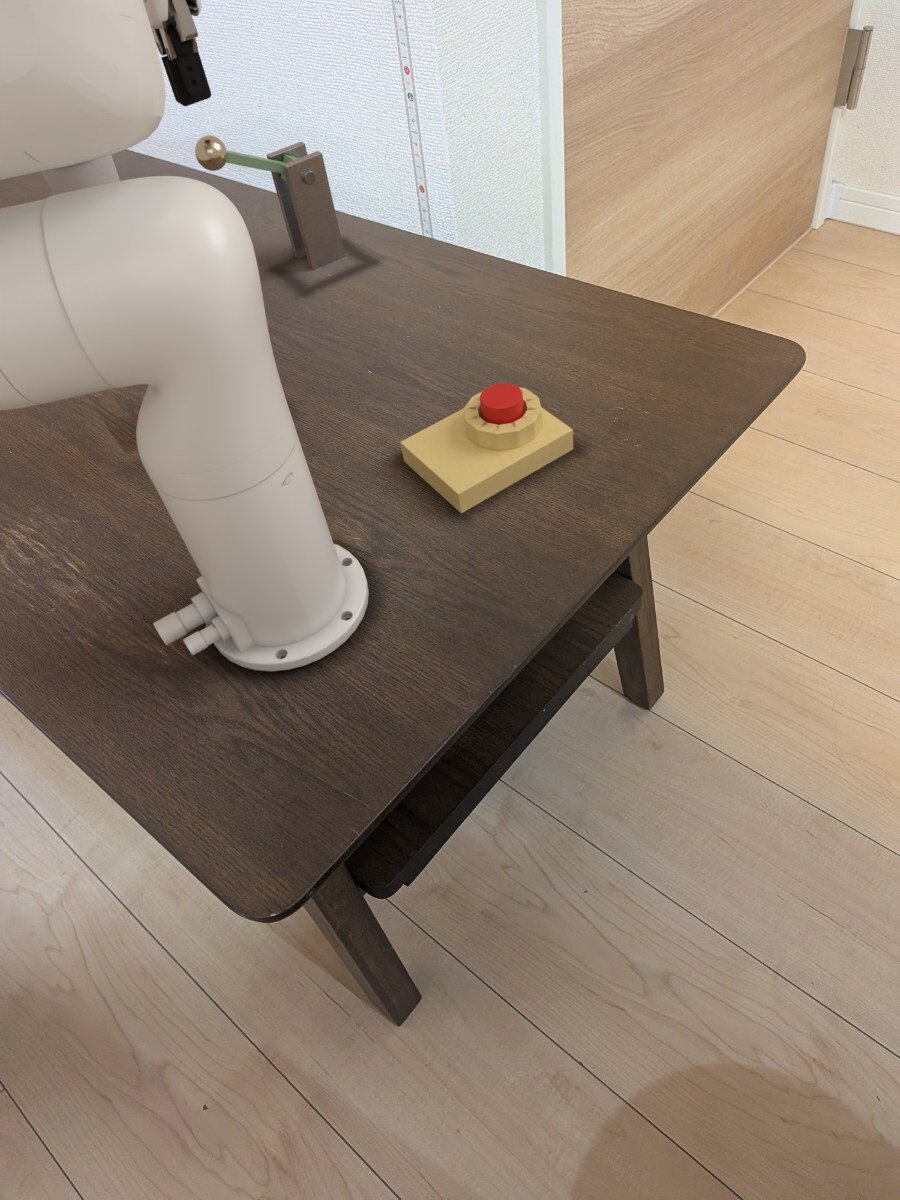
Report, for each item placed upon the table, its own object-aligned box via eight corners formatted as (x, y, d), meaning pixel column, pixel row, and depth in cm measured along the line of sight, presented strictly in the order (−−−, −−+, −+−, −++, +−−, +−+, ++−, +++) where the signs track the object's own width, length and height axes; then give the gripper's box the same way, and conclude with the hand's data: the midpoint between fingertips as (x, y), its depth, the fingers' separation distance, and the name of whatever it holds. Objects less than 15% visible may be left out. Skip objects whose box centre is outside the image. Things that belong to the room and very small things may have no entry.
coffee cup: (164, 235, 110) (116, 113, 98) (135, 272, 104) (80, 146, 92) (101, 238, 112) (46, 118, 100) (68, 274, 106) (6, 151, 94)
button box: (461, 513, 68) (455, 477, 65) (403, 461, 73) (396, 425, 70) (573, 449, 71) (573, 412, 68) (510, 403, 77) (507, 367, 74)
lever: (200, 171, 83) (204, 136, 82) (188, 163, 85) (192, 128, 83) (313, 192, 91) (318, 161, 89) (300, 184, 93) (305, 153, 91)
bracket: (304, 292, 95) (273, 178, 85) (274, 268, 100) (241, 158, 90) (370, 263, 98) (347, 149, 88) (338, 241, 102) (312, 130, 93)
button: (498, 431, 69) (496, 414, 67) (473, 412, 71) (471, 395, 69) (532, 412, 70) (531, 395, 68) (506, 394, 72) (505, 377, 70)
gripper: (44, -143, 70) (133, 95, 84) (99, -130, 61) (188, 132, 75) (126, -163, 72) (199, 72, 86) (190, -154, 64) (260, 106, 78)
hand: (194, 99), depth 81 cm, fingers closed
